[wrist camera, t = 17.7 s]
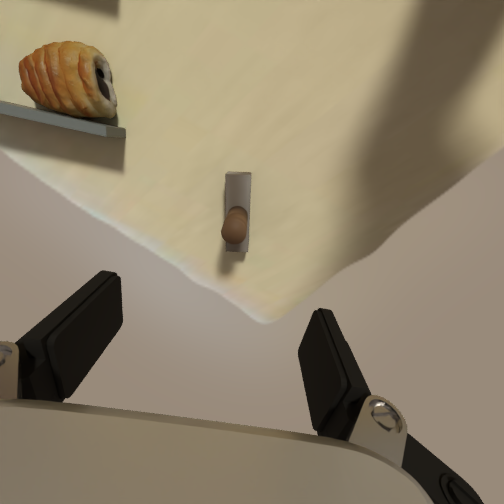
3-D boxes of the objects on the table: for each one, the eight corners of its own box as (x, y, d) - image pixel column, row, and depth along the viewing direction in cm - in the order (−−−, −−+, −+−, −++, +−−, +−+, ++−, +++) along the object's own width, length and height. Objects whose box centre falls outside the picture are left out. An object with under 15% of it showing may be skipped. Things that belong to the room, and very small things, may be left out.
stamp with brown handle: (251, 172, 30) (250, 183, 21) (248, 243, 34) (246, 275, 26) (228, 171, 30) (218, 182, 21) (228, 242, 34) (220, 273, 26)
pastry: (45, 119, 27) (15, 116, 24) (21, 47, 24) (-17, 31, 21) (124, 119, 27) (104, 115, 24) (108, 46, 24) (84, 30, 21)
